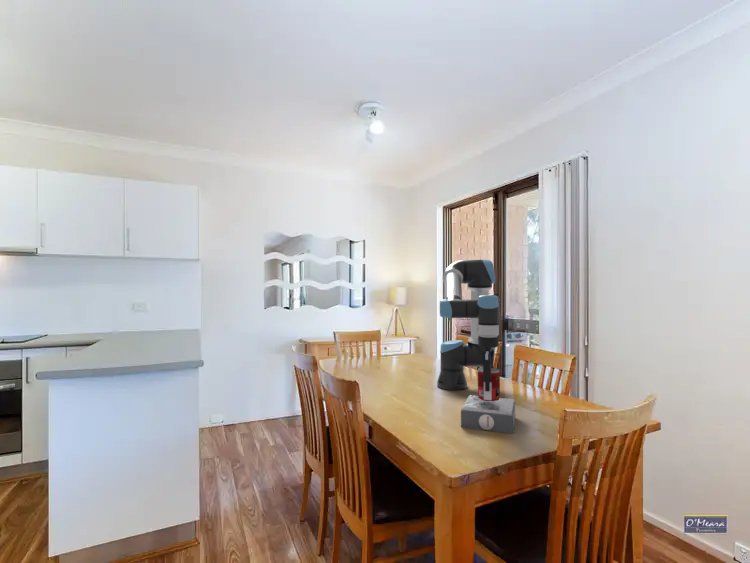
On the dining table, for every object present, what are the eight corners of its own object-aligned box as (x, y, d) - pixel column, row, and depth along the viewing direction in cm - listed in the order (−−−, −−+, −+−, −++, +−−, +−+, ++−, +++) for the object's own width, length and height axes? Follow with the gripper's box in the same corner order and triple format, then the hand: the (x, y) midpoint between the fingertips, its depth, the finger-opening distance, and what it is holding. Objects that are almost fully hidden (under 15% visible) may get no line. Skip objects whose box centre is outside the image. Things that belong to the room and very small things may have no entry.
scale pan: (469, 397, 159) (469, 394, 159) (513, 402, 153) (513, 399, 153) (462, 410, 143) (462, 406, 143) (511, 415, 137) (511, 412, 137)
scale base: (468, 412, 159) (468, 397, 160) (515, 417, 153) (515, 402, 153) (460, 427, 142) (460, 411, 142) (513, 434, 135) (513, 417, 135)
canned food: (501, 401, 143) (500, 371, 144) (478, 400, 145) (478, 370, 145) (498, 396, 151) (498, 367, 151) (477, 395, 152) (477, 366, 153)
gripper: (481, 332, 159) (481, 389, 159) (474, 338, 140) (475, 403, 140) (500, 333, 156) (501, 390, 156) (496, 339, 137) (497, 405, 137)
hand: (488, 396), depth 148 cm, fingers closed on canned food, 8 cm apart
